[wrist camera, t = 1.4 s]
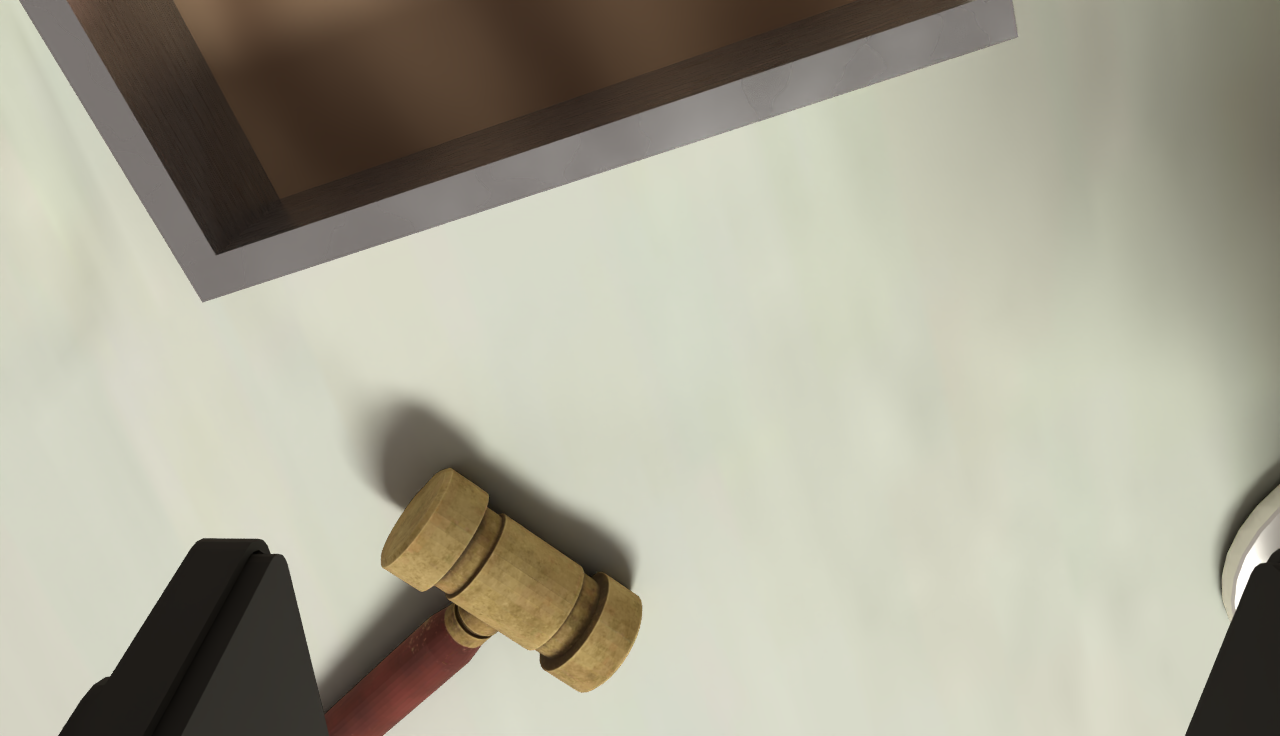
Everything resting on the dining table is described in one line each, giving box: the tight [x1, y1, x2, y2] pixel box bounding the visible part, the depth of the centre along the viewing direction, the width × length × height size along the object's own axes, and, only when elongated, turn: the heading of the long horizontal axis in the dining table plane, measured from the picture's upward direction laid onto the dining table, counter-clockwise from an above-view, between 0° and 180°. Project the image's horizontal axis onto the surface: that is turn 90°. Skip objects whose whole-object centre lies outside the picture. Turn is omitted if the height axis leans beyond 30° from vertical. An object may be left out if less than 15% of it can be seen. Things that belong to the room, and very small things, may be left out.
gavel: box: [324, 468, 642, 736], centre depth 43 cm, size 21×5×10 cm
